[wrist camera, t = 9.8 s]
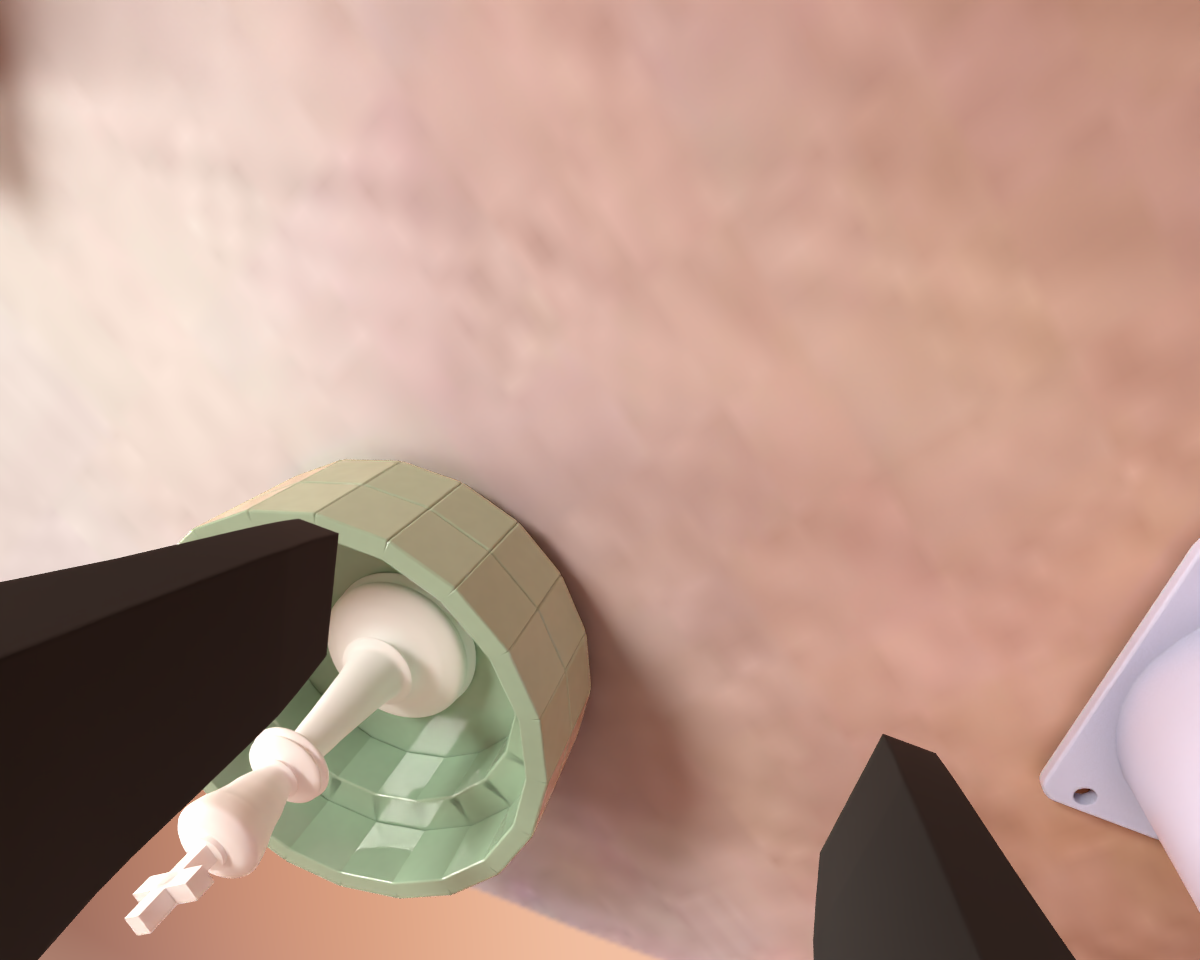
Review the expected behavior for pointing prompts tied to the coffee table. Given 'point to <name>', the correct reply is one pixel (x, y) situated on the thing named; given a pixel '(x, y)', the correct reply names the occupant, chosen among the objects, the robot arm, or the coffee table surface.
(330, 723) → the chess piece
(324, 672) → the bowl
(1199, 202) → the coffee table surface
